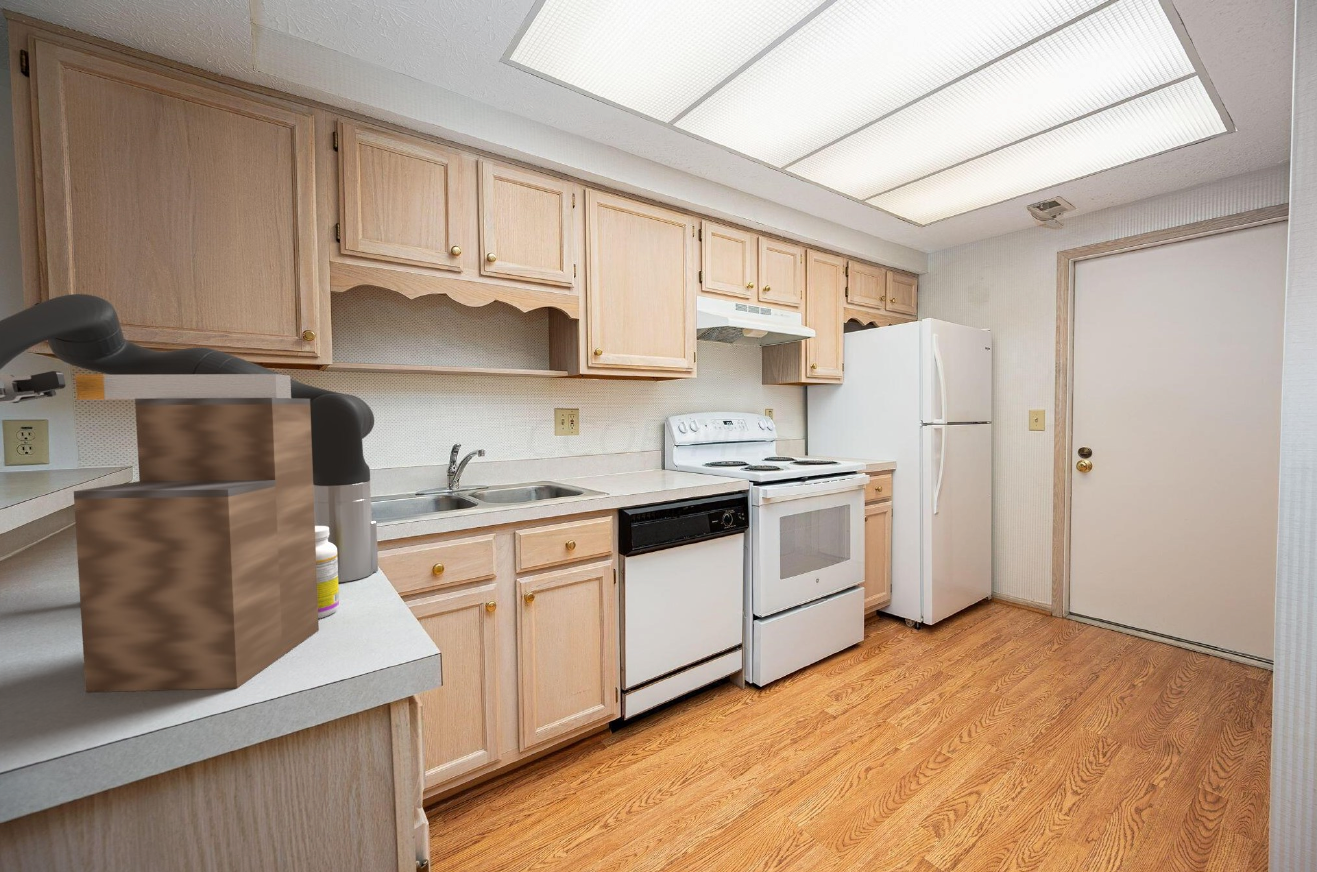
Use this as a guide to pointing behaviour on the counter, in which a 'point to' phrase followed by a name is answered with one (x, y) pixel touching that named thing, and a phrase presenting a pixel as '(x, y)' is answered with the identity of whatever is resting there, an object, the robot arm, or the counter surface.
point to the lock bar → (182, 386)
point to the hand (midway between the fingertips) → (19, 378)
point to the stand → (200, 547)
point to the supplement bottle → (326, 573)
